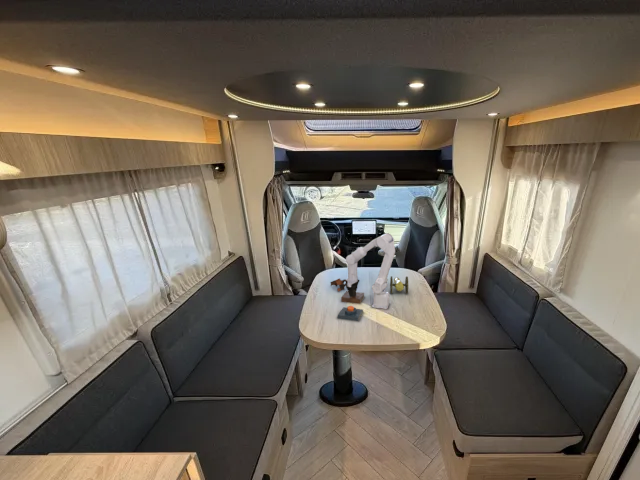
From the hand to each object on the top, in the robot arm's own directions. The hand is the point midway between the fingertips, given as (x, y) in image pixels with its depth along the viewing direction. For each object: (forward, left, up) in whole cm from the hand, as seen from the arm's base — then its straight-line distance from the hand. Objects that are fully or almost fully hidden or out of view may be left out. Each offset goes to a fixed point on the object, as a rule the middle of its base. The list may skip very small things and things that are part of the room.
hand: (353, 293), depth 194 cm
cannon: (-25, -23, -4) cm, 34 cm away
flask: (-5, +21, -4) cm, 22 cm away
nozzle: (-5, +21, -1) cm, 22 cm away
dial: (0, 0, -1) cm, 1 cm away
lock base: (0, 0, -4) cm, 4 cm away
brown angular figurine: (+14, -14, -4) cm, 20 cm away
